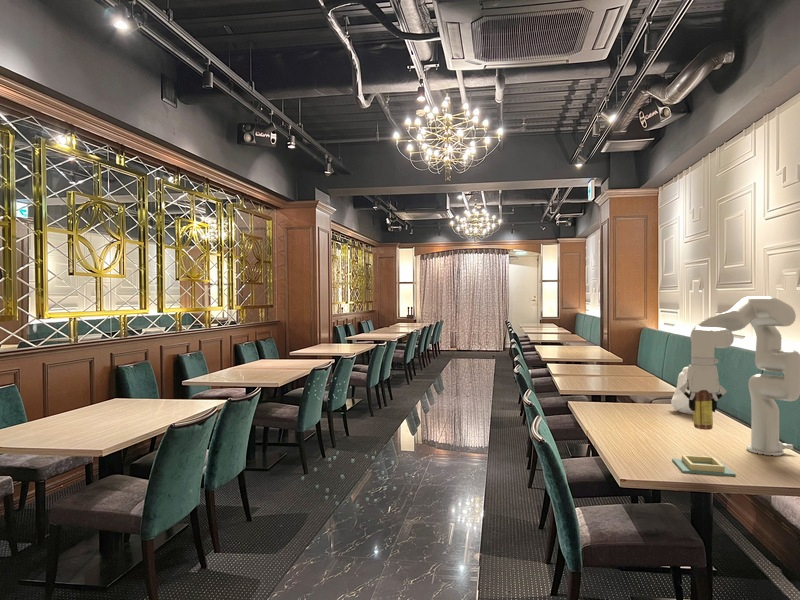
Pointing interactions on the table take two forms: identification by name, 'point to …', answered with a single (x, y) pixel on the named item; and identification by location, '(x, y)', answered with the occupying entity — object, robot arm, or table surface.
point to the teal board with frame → (702, 465)
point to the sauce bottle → (703, 410)
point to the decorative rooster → (681, 394)
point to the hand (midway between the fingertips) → (702, 410)
